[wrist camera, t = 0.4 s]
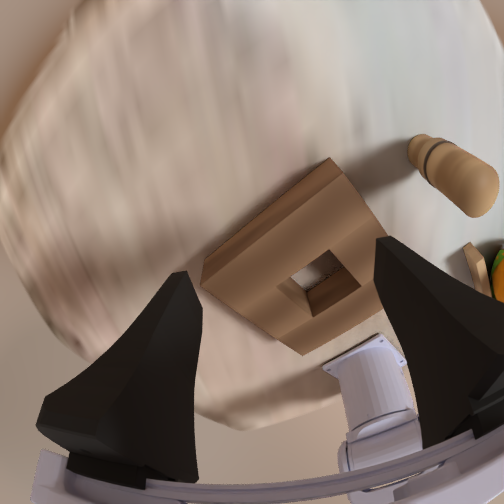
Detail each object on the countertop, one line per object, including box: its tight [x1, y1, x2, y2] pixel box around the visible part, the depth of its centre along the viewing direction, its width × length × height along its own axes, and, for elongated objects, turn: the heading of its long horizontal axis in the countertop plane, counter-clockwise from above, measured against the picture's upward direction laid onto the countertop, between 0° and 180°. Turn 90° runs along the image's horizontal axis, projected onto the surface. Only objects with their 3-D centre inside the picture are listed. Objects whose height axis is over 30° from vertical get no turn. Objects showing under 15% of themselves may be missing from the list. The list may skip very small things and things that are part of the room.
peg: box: [407, 134, 499, 218], centre depth 15 cm, size 3×3×7 cm
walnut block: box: [200, 158, 388, 356], centre depth 22 cm, size 12×12×3 cm
